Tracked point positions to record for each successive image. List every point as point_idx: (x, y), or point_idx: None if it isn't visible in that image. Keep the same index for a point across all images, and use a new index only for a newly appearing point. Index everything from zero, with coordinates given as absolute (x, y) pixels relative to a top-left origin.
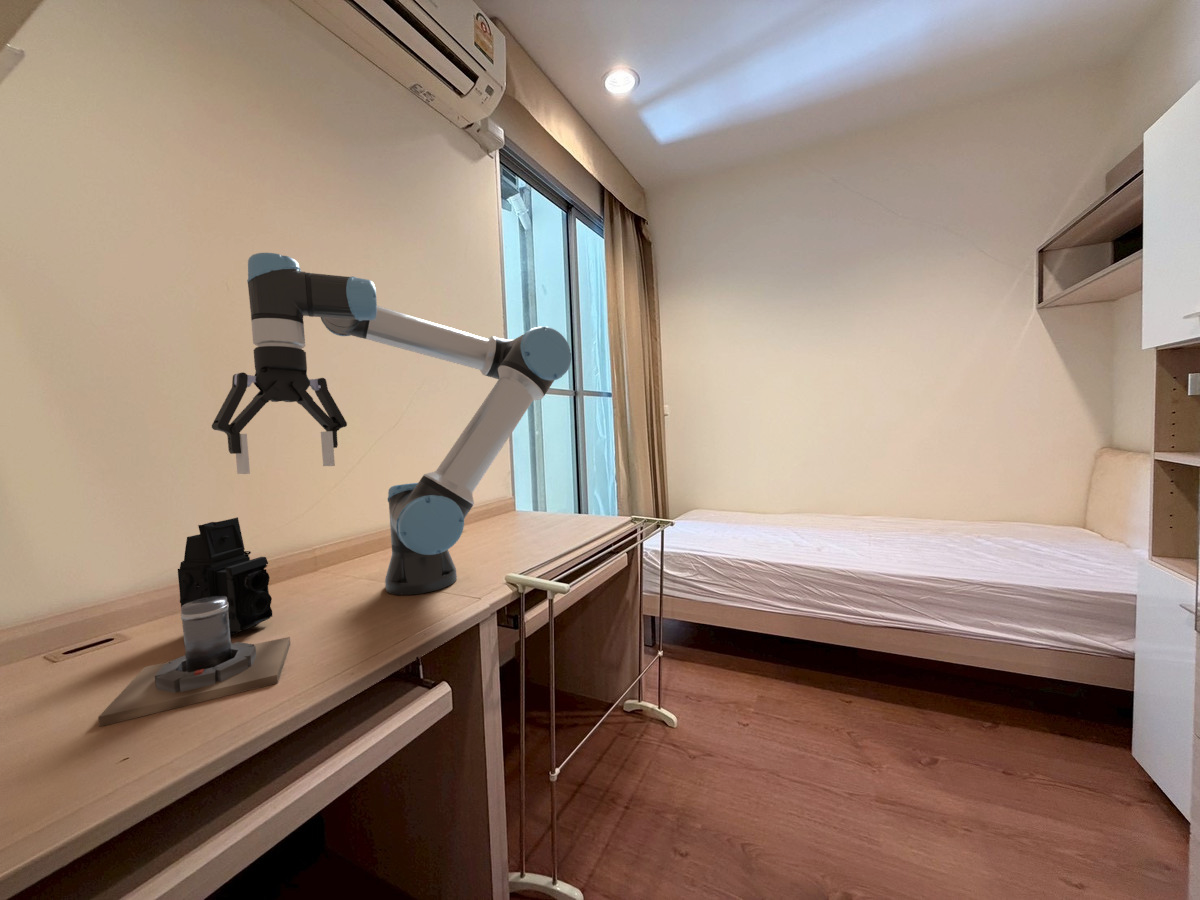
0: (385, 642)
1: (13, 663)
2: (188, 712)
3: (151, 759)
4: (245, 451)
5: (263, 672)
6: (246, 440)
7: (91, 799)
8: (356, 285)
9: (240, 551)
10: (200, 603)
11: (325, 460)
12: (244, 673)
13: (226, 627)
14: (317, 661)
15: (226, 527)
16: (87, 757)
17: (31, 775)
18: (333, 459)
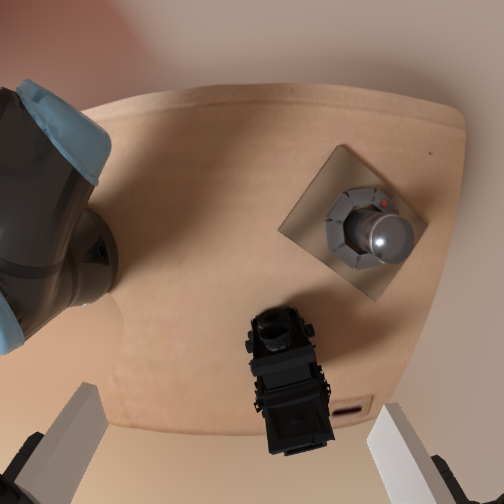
0: (226, 118)
1: None
2: (392, 175)
3: (423, 134)
4: (422, 456)
5: (342, 164)
6: (432, 491)
7: (445, 128)
8: None
9: (272, 403)
10: (399, 240)
11: (96, 425)
12: (351, 182)
13: (368, 217)
14: (291, 150)
15: (292, 435)
16: (438, 182)
17: (453, 195)
18: (74, 398)
